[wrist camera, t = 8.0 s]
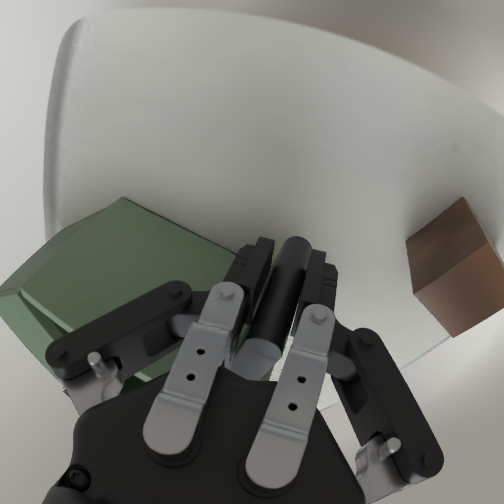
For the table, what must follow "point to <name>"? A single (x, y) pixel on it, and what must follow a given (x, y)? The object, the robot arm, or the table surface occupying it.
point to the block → (456, 269)
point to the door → (163, 281)
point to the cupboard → (31, 318)
